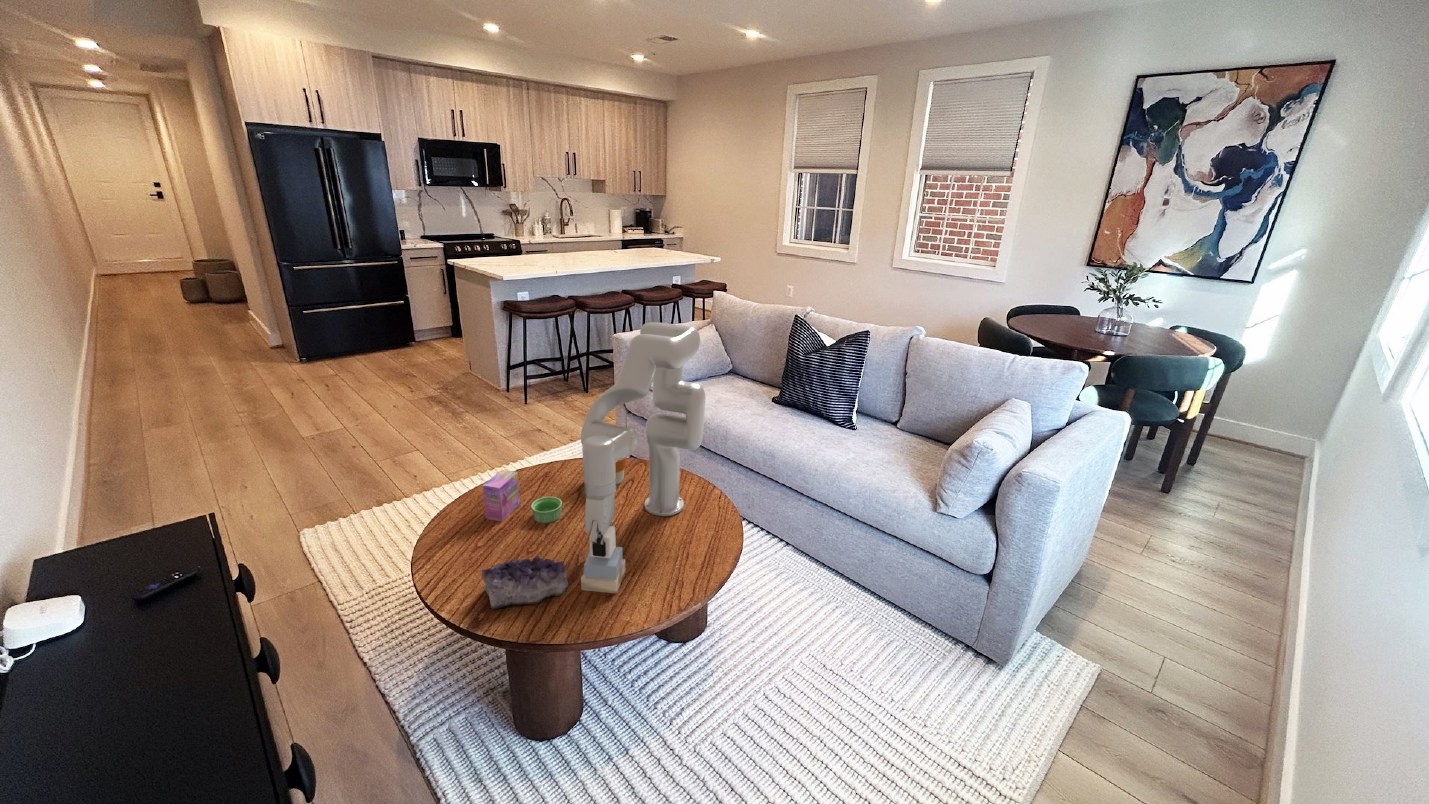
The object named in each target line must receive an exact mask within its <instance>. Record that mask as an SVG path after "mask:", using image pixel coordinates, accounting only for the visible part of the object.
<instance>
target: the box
mask: <svg viewBox="0 0 1429 804" xmlns="http://www.w3.org/2000/svg"><path fill="white" fill-rule="evenodd" d="M519 486H520V484H519V473H518V471H514V470H507V469H501V470H499V471H498V472H497V473H496V474H494V475H493V476H492V477H491V478H490V479H488V480H487V481H486V482H485V483H484V484H483V485H482V490H483V491H482V492H483V501H484V502H483V503H484V511H485V518H486V519H487V520H488V521H489V520H490V521H496V522H504V521H505V520H506V519H508V517H509V516H510V515H511V514H512V513H513V512H514V511H515V510H516V509H517V508H518V507H519V506H521V497H520V496H521V495H520V487H519Z"/></svg>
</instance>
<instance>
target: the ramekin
mask: <svg viewBox="0 0 1429 804" xmlns="http://www.w3.org/2000/svg"><path fill="white" fill-rule="evenodd" d="M562 504H563V501H562V500H561V499H560V498H558V497H557V496H556V497H555V496H542V497H539V498H537V499H535V500H534V501H533V502H532V503H531V506H530V507H531V508H530V509H531V511H532V515H533V519H534V520H535V522H538V523H539V524H540V523H541V524H549V523H553V522H556V521H557V520H559V519H560V518H561V516H562V506H563V505H562Z"/></svg>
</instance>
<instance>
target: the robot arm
mask: <svg viewBox="0 0 1429 804" xmlns="http://www.w3.org/2000/svg"><path fill="white" fill-rule="evenodd" d="M700 345H701V335H700V333H699V331H698V330H697V329H696V327H693V326H690V325H682V324H676V323H675V324H673V323H667V322H657V321H656V322H653V321H652V322H649V321H648V322H646V323H644V324H642V325H641V327H640V331H639V334H638V335H636V336H634V337H633V338H632V340H631V341H630V344H629V347H628V350H627V353H626V355H625V359H624V362H623V364H622V367H621V370H620V372H619V375H618V378H617V381H616V382H615V383H614V385H612V386H611V387H609V388H608V389H607V390H605V391H604V392H603V393H602V394H601V395H599V396H598V397H597V398H596V399H595V400H594V401H593V403H592V404H591V406H590V407H589V409H588V410H587V413H586V416H585V419H584V422H583V424H582V428H581V432H580V442H581V445H582V448H581V449H582V452H581V453H582V468H583V483H584V484H583V485H584V494H585V495H586V497H585V498H586V499H585V507H584V508H585V510H584V513H585V514H584V529H585V530H584V532H585V533H586V534H591V537H589V543H590V542H592V549H593V556H600V557H605V556H606V543H605V542H604V534H605V533H606V531H607V529H608V527H609V526H613V520H614V517H615V515H616V500H615V499H616V497H615V494H616V492H617V484H616V465H615V463H616V462H617V461H619V460H621V459H624V458H626V457H627V458H628V457H630V456H631V455H633V453H634V452H635V451H636V450H637V449H638V446H639V444H640V436H639V433H637V431H636V430H635V429H633V428H631V427H628V426H624V425H623V426H622V425H617V424H613V423H609V422H608V423H607V422H604V420H605V419H606V416H607V415H608V414H609V413H610V412H611V411H613V410H614V409H615V408H617V407H619V406H622V405H625V404H627V403H631V402H634V401H638V400H642V399H643V398H645V397H647V395H648V394H649V392H650V389H651V386H652V403H653V405H654V407H655V408H656V409H659V410H661V411H667V412H672V413H676V414H677V413H678V414H684V415H685V416H680V415H675V414H670V413H663V412H662V413H654V414H652V415H651V416H649V417H648V419H647V421H646V422H645V423H646V424H645V434H646V435H645V436H646V439H647V444H648V476H649V477H648V480H649V482H648V483H649V485H648V487H649V488H648V489H649V491H648V493H649V495H648V497H647V498H646V499H645V501H644V509H645V511H647V513H649V514H651V515H654V516H659V517H670V516H674V515H676V514H679V513H680V512H681V511H682V510H683V509H684V506H685V503H684V502H685V501H684V500H683V498H682V497H680V475H681V474H680V471H681V470H680V469H681V468H680V467H681V465H680V464H681V458H680V453H679V450H678V449H681V450H682V449H683V450H689V451H695V450H697V449H698V448H699V447H700V446H701V444H702V442H703V437H704V425H705V415H706V413H705V412H706V411H705V410H706V392H705V388H704V387H703V386H702V385H701V384H699V383H696V382H691V381H684V380H683V367H684V365H685V364H686V363H687V362H689V361H690V360H691V359H692V358H693V357H695V355H696V354H697V352H698V351H699V348H700ZM598 529H599V530H600V531H598ZM597 534H599V535H601V539H600V538H597Z"/></svg>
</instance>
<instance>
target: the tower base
mask: <svg viewBox="0 0 1429 804" xmlns="http://www.w3.org/2000/svg"><path fill="white" fill-rule="evenodd" d="M625 573H626V559H624V558H623V560H622V563H621V567H620V570H619V573H618V576H617V580H613V579H596V578H585V573H584V572H583V573H582V575H581V577H580V585H581V586H580V588H581V591H589V592H598V593H609V594H618V591H619V588H620V586H621V582H622V581H623V578H624V576H625Z"/></svg>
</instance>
